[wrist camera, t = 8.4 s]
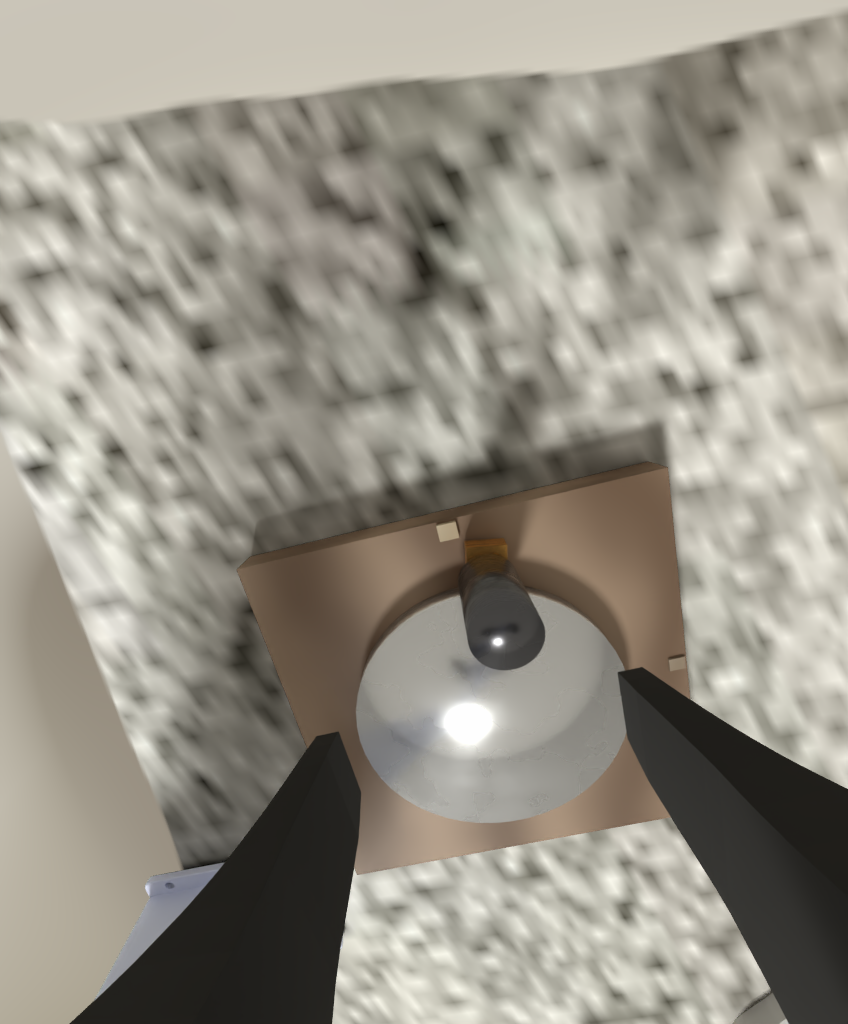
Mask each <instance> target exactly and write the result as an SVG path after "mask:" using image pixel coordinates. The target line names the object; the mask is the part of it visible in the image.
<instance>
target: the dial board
mask: <svg viewBox="0 0 848 1024" xmlns="http://www.w3.org/2000/svg"><path fill="white" fill-rule="evenodd" d="M499 538H504V540H505V542H506V544H507V559H508V560H509V561H510V562H511V563H512V564H513V566H514V567H515V569H516V571H517V573H518V575H519V577H520V579H521V581H522V583H523V585H524V586H529V587H533V588H537V589H540V590H543V591H546V592H548V593H551V594H554V595H556V596H558V597H560V598H562V599H564V600H565V601H567V602H569V603H571V604H572V605H574V606H575V607H576V608H578V609H579V610H581V611H582V612H583V613H585V614H586V615H587V616H588V617H589V618H590V619H591V620H592V621H593V622H594V623H595V624H596V625H597V627H598V628H599V629H600V631H601V632H602V633H603V634H604V636H605V637H606V638H607V640H608V641H609V643H610V644H611V645H612V647H613V648H614V649H615V651H616V653H617V654H618V656H619V658H620V660H621V662H622V664H623V666H624V669H625V670H630V669H635V668H640V667H643V668H645V669H646V670H648V671H649V672H651V673H652V674H654V675H655V676H656V677H658V678H659V679H661V680H662V681H664V682H665V683H667V684H668V685H670V686H671V687H672V688H674V689H675V690H677V691H678V692H680V693H681V694H683V695H684V696H686V697H687V698H689V699H690V693H689V683H688V672H687V662H686V651H685V641H684V630H683V620H682V609H681V599H680V589H679V578H678V568H677V557H676V547H675V536H674V526H673V516H672V505H671V495H670V484H669V474H668V467H665V466H661V465H658V464H655V463H652V462H645V463H640V464H636V465H632V466H628V467H624V468H619V469H615V470H611V471H607V472H603V473H598V474H594V475H590V476H586V477H582V478H577V479H573V480H569V481H565V482H561V483H557V484H552V485H548V486H544V487H540V488H536V489H531V490H527V491H523V492H519V493H515V494H510V495H506V496H502V497H498V498H494V499H489V500H485V501H481V502H477V503H473V504H469V505H464V506H460V507H456V508H452V509H448V510H443V511H439V512H435V513H431V514H427V515H422V516H418V517H414V518H410V519H406V520H401V521H397V522H393V523H389V524H385V525H381V526H376V527H372V528H368V529H364V530H360V531H355V532H351V533H347V534H343V535H339V536H334V537H330V538H326V539H322V540H318V541H313V542H309V543H305V544H301V545H297V546H293V547H288V548H284V549H280V550H276V551H272V552H267V553H263V554H259V555H255V556H251V557H249V558H248V559H247V560H246V561H245V562H244V563H243V564H242V565H241V566H240V567H239V568H238V569H237V572H238V574H239V577H240V580H241V582H242V585H243V587H244V590H245V592H246V595H247V597H248V600H249V602H250V605H251V607H252V610H253V612H254V615H255V618H256V620H257V623H258V625H259V628H260V630H261V633H262V635H263V638H264V640H265V643H266V645H267V648H268V650H269V653H270V655H271V658H272V661H273V663H274V666H275V668H276V671H277V673H278V676H279V678H280V681H281V683H282V686H283V688H284V691H285V693H286V696H287V698H288V701H289V704H290V706H291V709H292V711H293V714H294V716H295V719H296V721H297V724H298V726H299V729H300V731H301V734H302V736H303V739H304V742H305V744H306V747H307V749H308V747H309V746H310V744H311V743H312V742H313V740H314V739H315V737H316V736H319V735H324V734H329V733H334V732H338V731H339V733H340V736H341V739H342V742H343V744H344V747H345V750H346V752H347V755H348V758H349V760H350V763H351V766H352V769H353V771H354V774H355V777H356V779H357V782H358V785H359V788H360V790H361V809H360V826H359V839H358V846H357V852H356V858H355V865H354V868H355V871H356V873H357V875H360V874H365V873H370V872H376V871H381V870H387V869H392V868H398V867H403V866H408V865H414V864H419V863H425V862H430V861H435V860H441V859H446V858H452V857H457V856H463V855H468V854H473V853H479V852H484V851H490V850H495V849H501V848H506V847H511V846H517V845H522V844H528V843H533V842H538V841H544V840H549V839H555V838H560V837H566V836H571V835H576V834H582V833H587V832H593V831H598V830H604V829H609V828H614V827H620V826H625V825H631V824H636V823H641V822H647V821H652V820H658V819H663V818H669V817H671V816H670V815H669V813H668V812H667V810H666V808H665V807H664V805H663V804H662V802H661V800H660V799H659V797H658V796H657V794H656V792H655V791H654V789H653V788H652V786H651V784H650V783H649V781H648V779H647V777H646V775H645V773H644V771H643V769H642V767H641V765H640V763H639V761H638V759H637V757H636V755H635V753H634V751H633V749H632V747H631V745H630V743H629V741H628V739H627V732H626V735H625V738H624V741H623V743H622V745H621V747H620V749H619V751H618V753H617V755H616V756H615V758H614V760H613V761H612V763H611V764H610V766H609V767H608V768H607V769H606V770H605V772H604V773H603V774H602V775H601V776H600V778H599V779H597V780H596V781H595V782H594V783H593V784H592V785H591V786H590V787H589V788H588V789H586V790H585V791H584V792H582V793H581V794H579V795H578V796H577V797H575V798H574V799H572V800H570V801H568V802H567V803H565V804H563V805H561V806H560V807H557V808H555V809H553V810H550V811H548V812H546V813H543V814H540V815H536V816H533V817H530V818H526V819H521V820H516V821H510V822H500V823H475V822H465V821H459V820H454V819H449V818H446V817H443V816H439V815H436V814H433V813H431V812H428V811H426V810H424V809H422V808H419V807H417V806H416V805H414V804H412V803H410V802H409V801H407V800H405V799H404V798H403V797H401V796H400V795H399V794H397V793H396V792H395V791H393V790H392V789H391V788H390V787H389V786H388V785H387V784H386V783H385V782H384V781H383V780H382V779H381V778H380V776H379V775H378V774H377V772H376V771H375V770H374V768H373V767H372V765H371V764H370V762H369V760H368V758H367V757H366V755H365V752H364V750H363V747H362V745H361V742H360V738H359V734H358V729H357V720H356V706H357V696H358V692H359V687H360V682H361V678H362V675H363V671H364V667H365V664H366V662H367V660H368V657H369V655H370V653H371V651H372V649H373V648H374V646H375V644H376V643H377V641H378V640H379V638H380V637H381V636H382V635H383V633H384V632H385V631H386V630H387V628H388V627H389V626H390V625H391V624H392V623H393V622H394V621H396V620H397V619H398V618H399V617H400V616H401V615H402V614H404V613H405V612H406V611H408V610H409V609H411V608H412V607H413V606H415V605H416V604H418V603H420V602H422V601H424V600H426V599H428V598H430V597H431V596H434V595H437V594H439V593H442V592H444V591H447V590H450V589H454V588H458V576H459V573H460V571H461V569H462V567H463V566H464V565H465V546H464V541H470V540H484V539H499Z"/></svg>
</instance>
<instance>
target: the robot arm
mask: <svg viewBox="0 0 848 1024" xmlns="http://www.w3.org/2000/svg"><path fill="white" fill-rule="evenodd" d="M617 673H618V680H619V686H620V693H621V699H622V706H623V712H624V719H625V726H626V732H627V739H628V741H629V743H630V745H631V747H632V749H633V751H634V753H635V755H636V757H637V759H638V761H639V763H640V765H641V767H642V769H643V771H644V773H645V775H646V777H647V779H648V781H649V783H650V784H651V786H652V788H653V789H654V791H655V792H656V794H657V796H658V797H659V799H660V800H661V802H662V804H663V805H664V807H665V808H666V810H667V812H668V813H669V815H670V816H671V818H672V820H673V821H674V823H675V824H676V826H677V828H678V829H679V831H680V832H681V834H682V835H683V837H684V839H685V840H686V842H687V843H688V845H689V847H690V848H691V850H692V851H693V853H694V854H695V856H696V858H697V859H698V861H699V862H700V864H701V866H702V867H703V869H704V870H705V872H706V873H707V875H708V877H709V878H710V880H711V881H712V883H713V885H714V886H715V888H716V889H717V891H718V893H719V895H720V896H721V898H722V900H723V901H724V903H725V905H726V906H727V908H728V910H729V912H730V913H731V915H732V917H733V919H734V921H735V923H736V924H737V926H738V928H739V930H740V932H741V934H742V936H743V938H744V939H745V941H746V943H747V945H748V947H749V949H750V951H751V953H752V954H753V956H754V958H755V960H756V962H757V964H758V966H759V968H760V969H761V971H762V973H763V975H764V977H765V979H766V981H767V983H768V985H769V987H770V988H771V990H772V992H773V994H774V996H775V998H776V1000H777V1002H778V1004H779V1006H780V1008H781V1010H782V1012H783V1014H784V1015H785V1017H786V1019H787V1021H788V1023H789V1024H848V789H847V788H844V787H842V786H840V785H838V784H836V783H834V782H832V781H830V780H828V779H826V778H824V777H822V776H820V775H818V774H816V773H814V772H812V771H811V770H809V769H807V768H805V767H803V766H801V765H799V764H797V763H795V762H793V761H791V760H789V759H787V758H786V757H784V756H782V755H780V754H778V753H776V752H775V751H773V750H771V749H769V748H768V747H766V746H764V745H762V744H761V743H759V742H757V741H756V740H754V739H752V738H750V737H749V736H747V735H745V734H744V733H742V732H740V731H739V730H737V729H735V728H734V727H732V726H731V725H729V724H727V723H726V722H724V721H723V720H721V719H720V718H718V717H716V716H715V715H713V714H712V713H710V712H708V711H707V710H705V709H704V708H702V707H701V706H699V705H698V704H696V703H695V702H693V701H692V700H690V699H689V698H687V697H686V696H684V695H683V694H681V693H680V692H678V691H677V690H675V689H674V688H672V687H671V686H670V685H668V684H667V683H665V682H664V681H662V680H661V679H659V678H658V677H656V676H655V675H654V674H652V673H651V672H649V671H648V670H646V669H645V668H643V667H640V668H635V669H630V670H625V671H621V672H617ZM360 809H361V790H360V788H359V785H358V782H357V779H356V777H355V774H354V771H353V769H352V766H351V763H350V760H349V758H348V755H347V752H346V750H345V747H344V744H343V742H342V739H341V736H340V733H339V731H338V732H334V733H329V734H324V735H319V736H316V737H315V739H314V740H313V742H312V743H311V744H310V746H309V747H308V749H307V750H306V752H305V753H304V755H303V756H302V758H301V759H300V760H299V762H298V763H297V765H296V766H295V768H294V769H293V771H292V772H291V774H290V775H289V777H288V778H287V779H286V781H285V782H284V784H283V785H282V787H281V788H280V790H279V791H278V792H277V794H276V795H275V797H274V798H273V799H272V801H271V802H270V804H269V805H268V807H267V808H266V809H265V811H264V812H263V814H262V815H261V816H260V818H259V819H258V820H257V821H256V823H255V824H254V825H253V827H252V828H251V829H250V831H249V832H248V833H247V835H246V836H245V837H244V839H243V840H242V841H241V843H240V844H239V845H238V846H237V848H236V849H235V850H234V852H233V853H232V854H231V856H230V857H229V858H228V859H227V861H226V862H223V863H218V864H213V865H208V866H202V867H197V868H192V869H187V870H181V871H176V872H171V873H166V874H161V875H156V876H152V877H150V878H149V879H148V881H147V883H146V885H145V889H146V891H147V893H148V895H149V896H150V898H149V900H148V902H147V904H146V906H145V908H144V909H143V911H142V913H141V915H140V917H139V919H138V921H137V922H136V924H135V926H134V928H133V930H132V932H131V934H130V935H129V937H128V939H127V941H126V943H125V945H124V947H123V948H122V950H121V952H120V954H119V956H118V957H117V960H116V961H115V963H114V965H113V967H112V969H111V970H110V972H109V974H108V976H107V978H106V980H105V982H104V983H103V985H102V987H101V989H100V991H99V993H98V994H97V996H96V998H95V1000H94V1002H92V1003H91V1004H90V1005H89V1006H88V1007H87V1008H86V1009H85V1010H84V1011H83V1012H82V1013H81V1014H80V1015H78V1016H77V1017H76V1018H75V1019H74V1020H73V1021H72V1022H71V1023H70V1024H332V1017H333V1006H334V995H335V984H336V976H337V969H338V962H339V954H340V949H341V948H342V945H343V937H342V936H343V930H344V924H345V918H346V912H347V907H348V901H349V895H350V889H351V883H352V877H353V871H354V865H355V858H356V852H357V846H358V839H359V826H360Z"/></svg>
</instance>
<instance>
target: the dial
mask: <svg viewBox="0 0 848 1024" xmlns="http://www.w3.org/2000/svg"><path fill="white" fill-rule="evenodd" d="M464 546H465V565H464V566H463V567H462V569H461V571H460V573H459V576H458V588H454V589H450V590H447V591H444V592H442V593H439V594H437V595H434V596H431V597H430V598H428V599H426V600H424V601H422V602H420V603H418V604H416V605H415V606H413V607H412V608H411V609H409V610H408V611H406V612H405V613H404V614H402V615H401V616H400V617H399V618H398V619H397V620H396V621H394V622H393V623H392V624H391V625H390V626H389V627H388V628H387V630H386V631H385V632H384V633H383V635H382V636H381V637H380V638H379V640H378V641H377V643H376V644H375V646H374V648H373V649H372V651H371V653H370V655H369V657H368V660H367V662H366V664H365V667H364V671H363V675H362V678H361V682H360V687H359V692H358V696H357V706H356V720H357V729H358V734H359V738H360V742H361V745H362V747H363V750H364V752H365V755H366V757H367V758H368V760H369V762H370V764H371V765H372V767H373V768H374V770H375V771H376V772H377V774H378V775H379V776H380V778H381V779H382V780H383V781H384V782H385V783H386V784H387V785H388V786H389V787H390V788H391V789H392V790H393V791H395V792H396V793H397V794H399V795H400V796H401V797H403V798H404V799H405V800H407V801H409V802H410V803H412V804H414V805H416V806H417V807H419V808H422V809H424V810H426V811H428V812H431V813H433V814H436V815H439V816H443V817H446V818H449V819H454V820H459V821H465V822H475V823H500V822H510V821H516V820H521V819H526V818H530V817H533V816H536V815H540V814H543V813H546V812H548V811H550V810H553V809H555V808H557V807H560V806H561V805H563V804H565V803H567V802H568V801H570V800H572V799H574V798H575V797H577V796H578V795H579V794H581V793H582V792H584V791H585V790H586V789H588V788H589V787H590V786H591V785H592V784H593V783H594V782H595V781H596V780H597V779H599V778H600V776H601V775H602V774H603V773H604V772H605V770H606V769H607V768H608V767H609V766H610V764H611V763H612V761H613V760H614V758H615V756H616V755H617V753H618V751H619V749H620V747H621V745H622V743H623V741H624V738H625V735H626V726H625V719H624V712H623V706H622V699H621V693H620V686H619V680H618V673H617V672H621V671H625V669H624V666H623V664H622V662H621V660H620V658H619V656H618V654H617V653H616V651H615V649H614V648H613V647H612V645H611V644H610V643H609V641H608V640H607V638H606V637H605V636H604V634H603V633H602V632H601V631H600V629H599V628H598V627H597V625H596V624H595V623H594V622H593V621H592V620H591V619H590V618H589V617H588V616H587V615H586V614H585V613H583V612H582V611H581V610H579V609H578V608H576V607H575V606H574V605H572V604H571V603H569V602H567V601H565V600H564V599H562V598H560V597H558V596H556V595H554V594H551V593H548V592H546V591H543V590H540V589H537V588H533V587H529V586H524V585H523V583H522V581H521V579H520V577H519V575H518V573H517V571H516V569H515V567H514V566H513V564H512V563H511V562H510V561H509V560H508V559H507V544H506V542H505V540H504V538H499V539H484V540H470V541H464Z"/></svg>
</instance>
